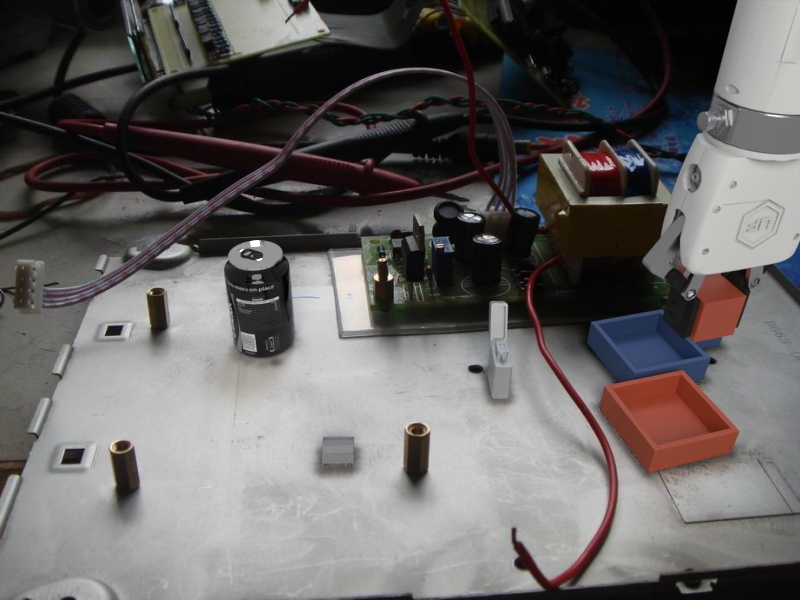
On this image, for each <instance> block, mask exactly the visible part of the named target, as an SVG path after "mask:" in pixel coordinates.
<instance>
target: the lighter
mask: <svg viewBox="0 0 800 600" xmlns="http://www.w3.org/2000/svg"><path fill="white" fill-rule="evenodd" d="M508 313H509V304H508V303H507V302H506V301H505V300H490V302H489V307H488V339H489V341H490V344H489V353H488V354H489V355H488V363H487V371H486V375H487V381H488V386H489V391H490V396H491V398H492V399H493V400H507V399H508V398H509V396H510V387H511V380H512V373H513V362H512V358H511V353H510V349H509V344H508V342H507V341H508V316H509V315H508Z"/></svg>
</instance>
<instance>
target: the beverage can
mask: <svg viewBox="0 0 800 600" xmlns="http://www.w3.org/2000/svg"><path fill="white" fill-rule="evenodd" d="M227 258H228V259H227V261H226V262H225V264H224V267H223V275H224V277H223V278H224V283H225V291H226V297H227V298H226V299H227V304H228V312H229V321H230V326H231V333H232V339H233V345H234V347H235V348H236V350H238V351H239V352H240V353H241V354H243V355H244V356H247V357H250V358H254V359H255V358H256V359H269V358H274V357H276V356H279V355H282V354H283V353H285V352H286V351H287V350H289V349H290V348H291V347H292V345H293V344H294V342H295V339H296V331H295V330H296V329H295V328H296V327H295V315H294V301H293V288H292V276H291V268H290V266H291V265H290V262H289V260H288V258H287V256H285V255H284V254H283V249H282V248H281V247H280V245H278V244H276V243H275V242H272V241H268V240H250V241H244V242H242V243H238V244H237V245H235V246H234V247H232V248H231V249H230V250H229V252H228V255H227Z"/></svg>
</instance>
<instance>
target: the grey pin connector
mask: <svg viewBox="0 0 800 600" xmlns="http://www.w3.org/2000/svg"><path fill="white" fill-rule="evenodd" d="M355 450H356V448H355V436H322V445H321V468H322V469H324V465H325V464H329V467H332V464H333V465H334V464H336V466H337V467H340V464H344V467H345V469H347V466H348V465H347V464H352V466H355Z"/></svg>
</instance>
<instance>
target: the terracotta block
mask: <svg viewBox="0 0 800 600" xmlns="http://www.w3.org/2000/svg"><path fill="white" fill-rule="evenodd" d="M684 276H685V277H686V278H688V276H689V275H684ZM696 296H697V297H698V298H699V299H700V300H701V301H700V306H699V309H698V312H697V315H696V319H695V322H694V325H693V329H692V332H691V335H690V337H688V338H689V339H690V340H691V341H692V342H693V343H694V342H699V341H704V340H709V339H714V338H719V337H722V338H723V337H728V336H733V335H734V333H735V331H736V329H737V328H736V325H737V322H738V319H739V317H740V314H741V311H742V308H743V305H744V302H745V299H746V295H744V294H743V293H742V292H741V291H740V290H738V289H737V288H736V287H735V286H734V285H733V284H731V283H730V282H729V281H728V280H727V279H725V278H724V277H723V276H722V275H721V273H718V274H712V275H706V277H705V279H704V281H703V283H702V285H701V287H700V290H699V292H698V294H697V295H696Z"/></svg>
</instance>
